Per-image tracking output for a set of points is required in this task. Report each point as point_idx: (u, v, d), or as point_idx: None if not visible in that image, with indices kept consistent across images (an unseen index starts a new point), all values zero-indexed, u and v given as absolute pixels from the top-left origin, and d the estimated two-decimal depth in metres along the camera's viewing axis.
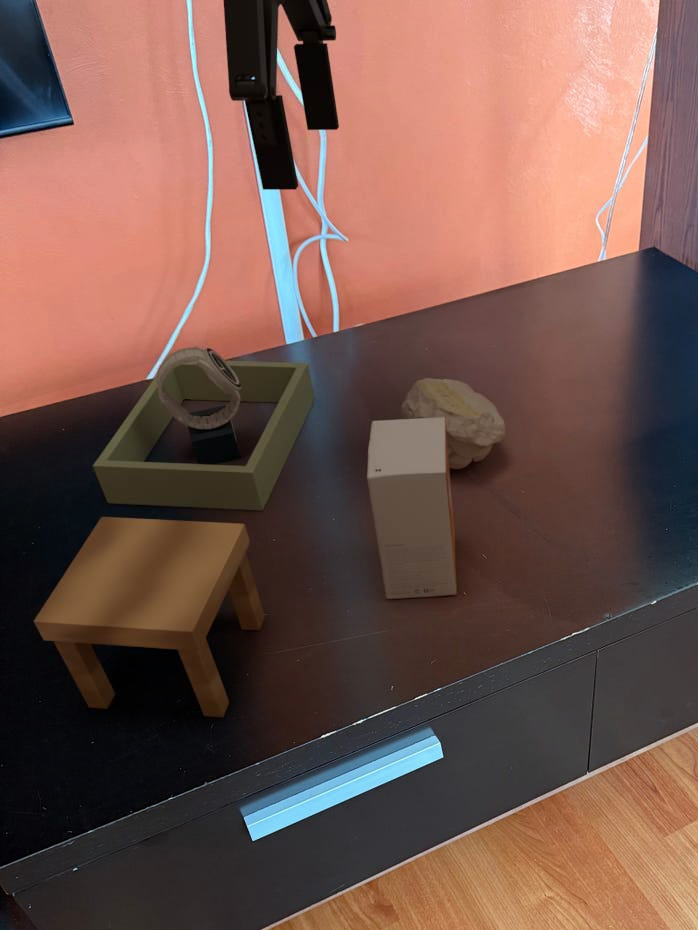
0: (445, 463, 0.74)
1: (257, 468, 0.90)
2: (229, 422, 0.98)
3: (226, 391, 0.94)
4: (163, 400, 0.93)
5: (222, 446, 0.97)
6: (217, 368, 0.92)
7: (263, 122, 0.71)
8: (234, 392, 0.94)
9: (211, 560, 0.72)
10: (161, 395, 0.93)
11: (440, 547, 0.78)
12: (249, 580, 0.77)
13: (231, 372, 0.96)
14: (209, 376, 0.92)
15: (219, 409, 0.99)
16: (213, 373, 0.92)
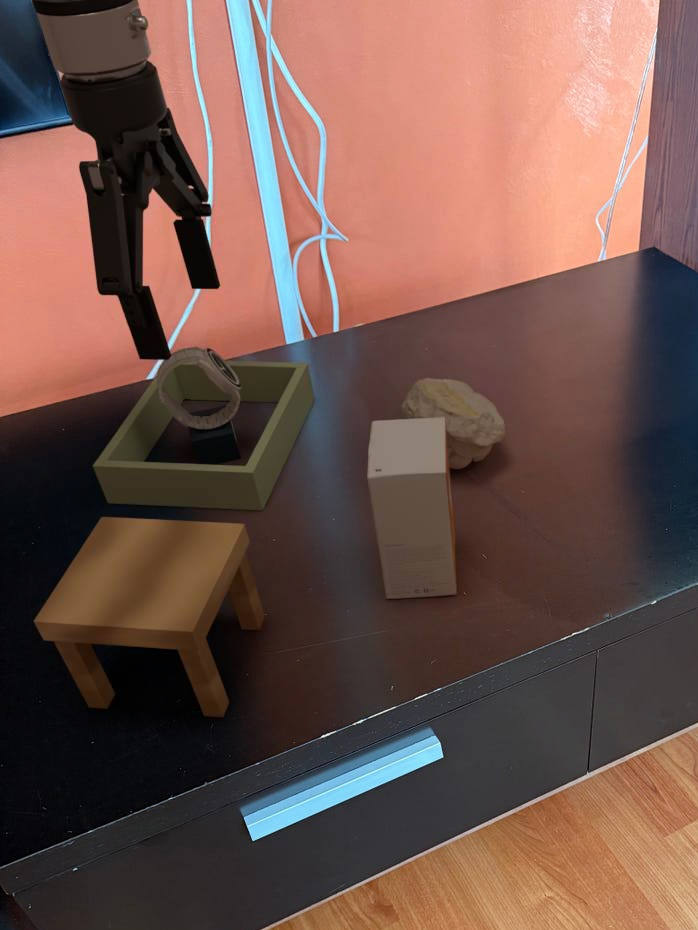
0: (445, 463, 0.74)
1: (257, 468, 0.90)
2: (229, 422, 0.98)
3: (226, 391, 0.94)
4: (163, 400, 0.93)
5: (222, 446, 0.97)
6: (217, 368, 0.92)
7: (132, 310, 0.80)
8: (234, 392, 0.94)
9: (211, 560, 0.72)
10: (161, 395, 0.93)
11: (440, 547, 0.78)
12: (249, 580, 0.77)
13: (231, 372, 0.96)
14: (209, 376, 0.92)
15: (219, 409, 0.99)
16: (213, 373, 0.92)
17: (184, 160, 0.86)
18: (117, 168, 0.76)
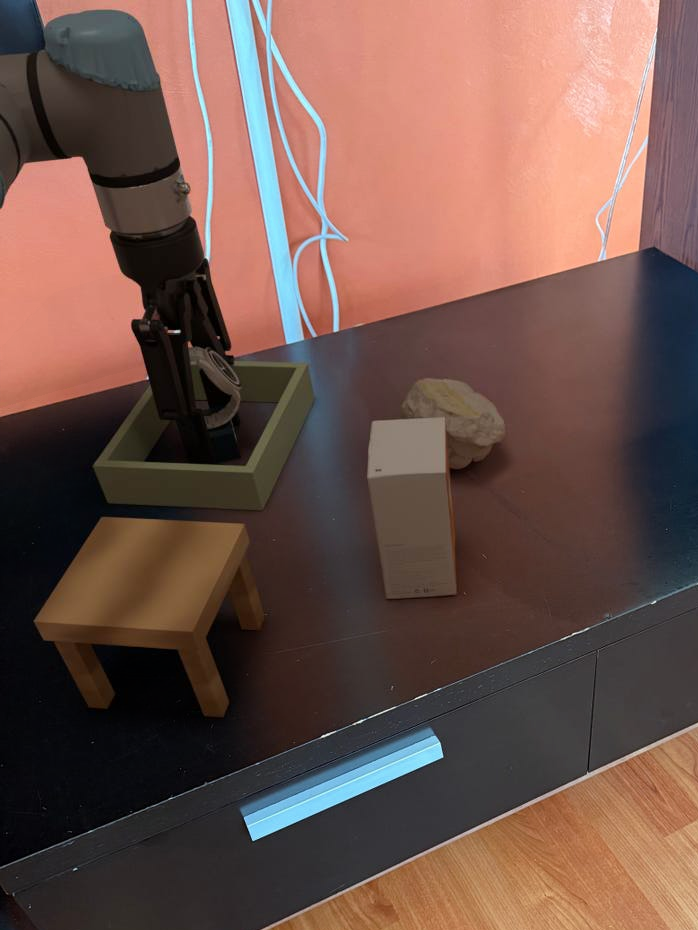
0: (445, 463, 0.74)
1: (257, 468, 0.90)
2: (229, 422, 0.98)
3: (226, 391, 0.94)
4: None
5: (222, 446, 0.97)
6: (217, 368, 0.92)
7: (187, 430, 0.92)
8: (234, 392, 0.94)
9: (211, 560, 0.72)
10: None
11: (440, 547, 0.78)
12: (249, 580, 0.77)
13: (231, 372, 0.96)
14: (209, 376, 0.92)
15: (219, 409, 0.99)
16: (213, 373, 0.92)
17: (214, 307, 0.94)
18: (160, 311, 0.84)
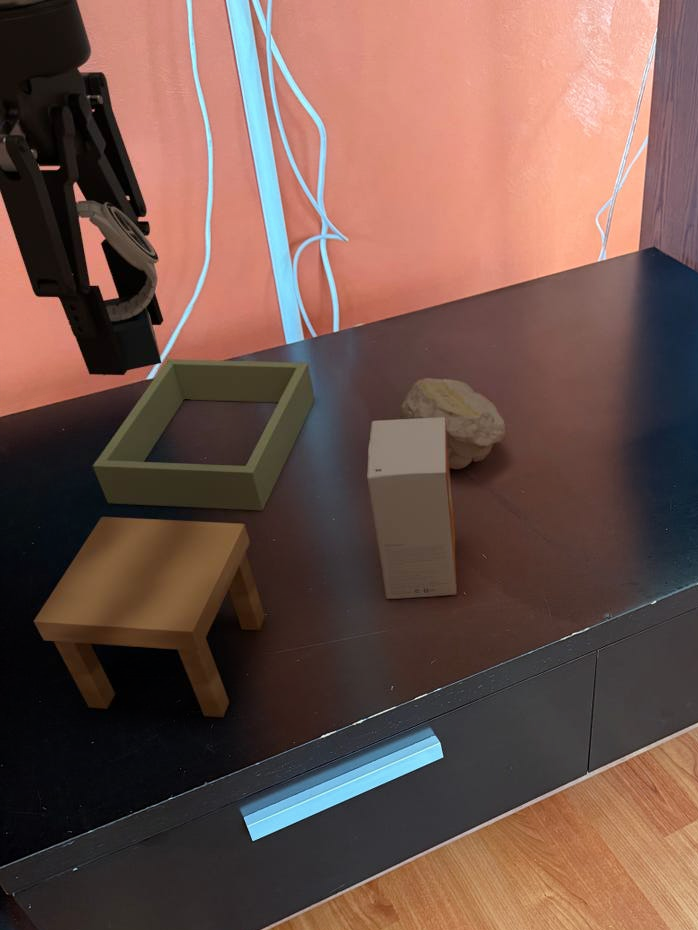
0: (445, 463, 0.74)
1: (257, 468, 0.90)
2: (144, 313, 0.71)
3: (135, 263, 0.67)
4: None
5: (134, 345, 0.70)
6: (120, 228, 0.66)
7: (78, 315, 0.66)
8: (147, 266, 0.68)
9: (211, 560, 0.72)
10: None
11: (440, 547, 0.78)
12: (249, 580, 0.77)
13: (144, 241, 0.69)
14: (109, 239, 0.66)
15: (132, 298, 0.73)
16: (115, 235, 0.66)
17: (117, 147, 0.68)
18: (24, 126, 0.58)
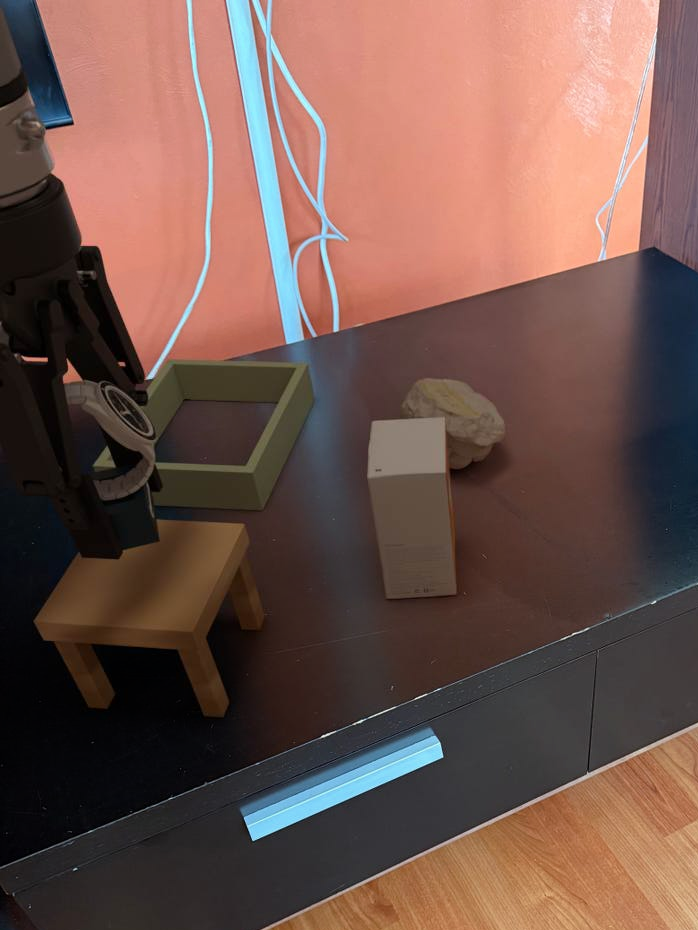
0: (445, 463, 0.74)
1: (257, 468, 0.90)
2: (141, 489, 0.66)
3: (131, 447, 0.62)
4: None
5: (130, 526, 0.65)
6: (115, 413, 0.60)
7: (68, 508, 0.60)
8: (144, 448, 0.63)
9: (211, 560, 0.72)
10: None
11: (440, 547, 0.78)
12: (249, 580, 0.77)
13: (142, 417, 0.64)
14: (103, 425, 0.61)
15: (129, 468, 0.68)
16: (109, 421, 0.60)
17: (112, 320, 0.62)
18: (7, 329, 0.53)
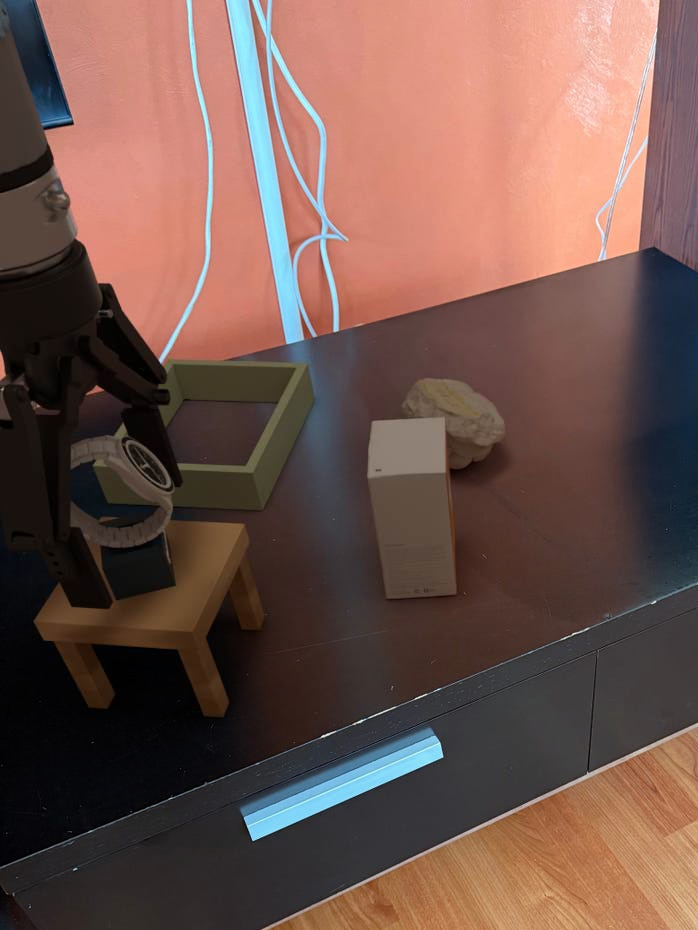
0: (445, 463, 0.74)
1: (257, 468, 0.90)
2: (159, 536, 0.69)
3: (150, 499, 0.65)
4: None
5: (148, 572, 0.68)
6: (135, 468, 0.63)
7: (57, 561, 0.60)
8: (162, 499, 0.66)
9: (211, 560, 0.72)
10: None
11: (440, 547, 0.78)
12: (249, 580, 0.77)
13: (160, 468, 0.67)
14: (124, 479, 0.64)
15: (146, 515, 0.71)
16: (129, 475, 0.63)
17: (132, 343, 0.65)
18: (32, 386, 0.55)
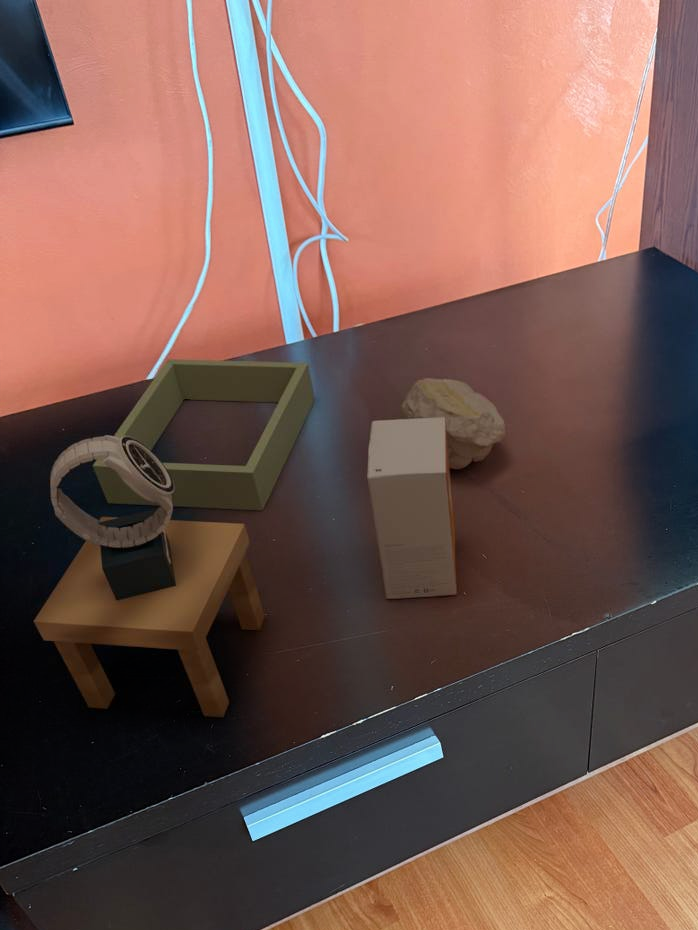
0: (445, 463, 0.74)
1: (257, 468, 0.90)
2: (159, 536, 0.69)
3: (150, 499, 0.65)
4: (59, 512, 0.65)
5: (148, 572, 0.68)
6: (135, 468, 0.63)
7: None
8: (162, 499, 0.66)
9: (211, 560, 0.72)
10: (56, 505, 0.64)
11: (440, 547, 0.78)
12: (249, 580, 0.77)
13: (160, 468, 0.67)
14: (124, 479, 0.64)
15: (146, 515, 0.71)
16: (130, 475, 0.63)
17: None
18: None
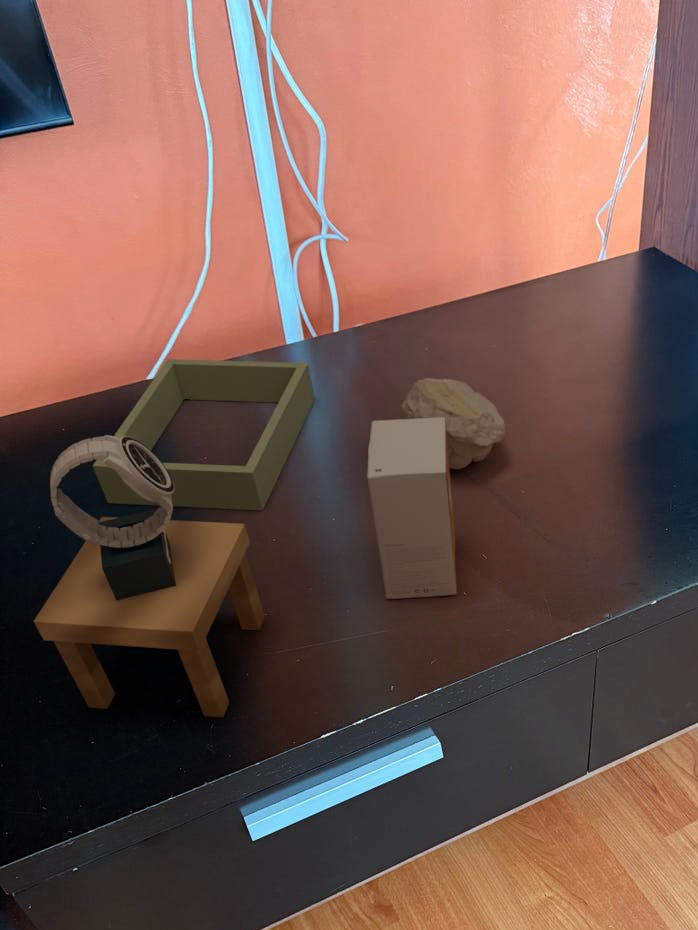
0: (445, 463, 0.74)
1: (257, 468, 0.90)
2: (159, 536, 0.69)
3: (150, 499, 0.65)
4: (59, 512, 0.65)
5: (148, 572, 0.68)
6: (135, 468, 0.63)
7: None
8: (163, 499, 0.66)
9: (211, 560, 0.72)
10: (56, 505, 0.64)
11: (440, 547, 0.78)
12: (249, 580, 0.77)
13: (160, 468, 0.67)
14: (124, 479, 0.64)
15: (146, 515, 0.71)
16: (130, 475, 0.63)
17: None
18: None
